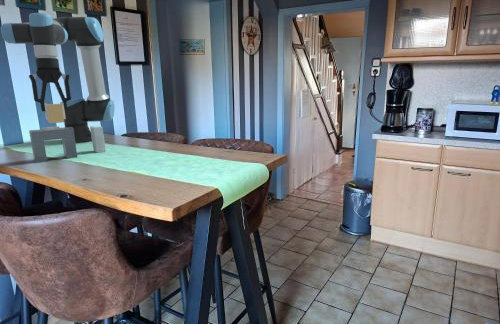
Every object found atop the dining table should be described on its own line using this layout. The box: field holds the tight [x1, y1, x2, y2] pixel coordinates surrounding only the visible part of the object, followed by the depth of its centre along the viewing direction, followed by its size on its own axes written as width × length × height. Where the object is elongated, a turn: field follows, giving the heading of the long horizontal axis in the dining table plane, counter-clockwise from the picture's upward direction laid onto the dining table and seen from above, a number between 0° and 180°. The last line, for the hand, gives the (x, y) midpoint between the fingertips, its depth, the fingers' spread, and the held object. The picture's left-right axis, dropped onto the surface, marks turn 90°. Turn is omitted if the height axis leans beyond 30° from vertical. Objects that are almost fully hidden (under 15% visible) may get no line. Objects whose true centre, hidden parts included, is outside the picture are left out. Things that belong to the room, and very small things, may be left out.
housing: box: [28, 125, 78, 163], centre depth 146 cm, size 16×6×14 cm, turn 127°
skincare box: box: [89, 125, 107, 153], centre depth 161 cm, size 6×4×12 cm
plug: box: [47, 103, 64, 124], centre depth 137 cm, size 5×16×7 cm, turn 37°
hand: (56, 119), depth 133 cm, fingers closed on plug, 5 cm apart
